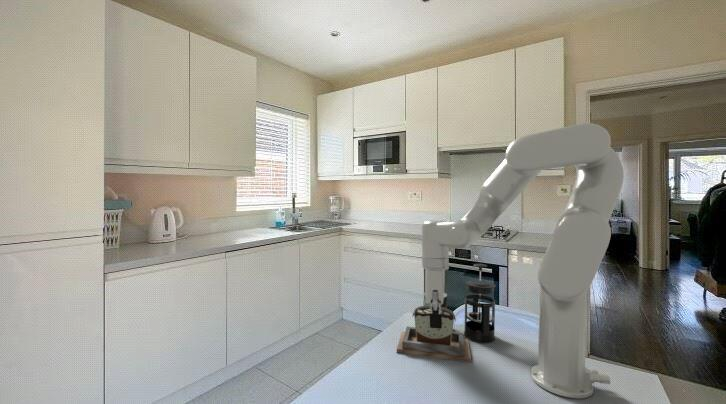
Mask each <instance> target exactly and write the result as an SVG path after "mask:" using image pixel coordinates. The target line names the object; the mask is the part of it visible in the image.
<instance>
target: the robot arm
mask: <svg viewBox="0 0 726 404" xmlns="http://www.w3.org/2000/svg"><path fill="white" fill-rule="evenodd" d="M611 140H612V138H611V135H610V133H609V131H608V130H607V128H604V127H603V126H601V125H599V124H596V123H590V122H584V123H576V124H573V125H568V126H564V127H559V128H555V129H550V130H545V131H540V132H537V133H532V134H527V135H524V136H523V135H522V136H520V137H518V138H516V139H514V140H513V141H511V143H510V144H509V145H508V147H507V148H506V150H505V154H504V155H505V158H504V159H503V161H502V162H501V163H500V164H499V165H498V166H497V167H496V168H495V170H494V171H492V174H491V175H490V176H489V177H488V178H487V179H486V180H485V181H484V182H483V184H482V185H481V188H480V190H479V195H478V197H477V200H476V202H475V203H474V204H473V205H472V207H471V208H470V210H468V212H467V213H466V214H465V215H464V216H463V217H462V218H461V219H458V220H454V221H444V220H438V219H435V220H431V219H430V220H425V221H423V222H422V225H421V249H422V251H421V252H422V254H421V256H422V257H421V259H422V262H421V264H422V265H421V267H422V268H423V270H425V292H426V304H431V309H430V328H439V329H441V328H442V314H441V307H442V304H443V299H444V293H445V283H446V281H445V278H446V277H445V275H446V274H445V272H446V270H449V268H450V267H449V266H450V265H449V264H450V263H449V261H450V260H449V259H450V258H449V255H450V254H449V251H450V250H449V248H452V249H453V248H454V249H464V248H467V247H469V246H470V245H472V244H475V243H477V242H478V241H479V239H481V238H482V236H483V235H485V233H486V232H487V231H488V230H489V229H490V228H491V227H492V225H493V224H494V223H495V222H496V221H497V220H498V218H499V217H500V216H501V215H502V214H503V213H504V212H505V211H507V209H508V208H509V207H510V205H511V204H512V203H513V202H514V201H515V200H516V199H517V198H518V197H519V195H521V193H522V192H523V191H524V190H525V189H526V188H527V187H528V186H529V184H530V183H532V182H533V181H534V180H535V178H536V177H537V176H538V175H539V174H540V173H541V172H542V171H544V170H546V171H547V170H551V169H558V168H565V167H571V166H573V167H574V168H575V170H576V175H577V176H576V181H575V183H574V186H573V189H572V191H571V194H570V197H569V200H568V202H567V203H566V206H565V208H564V211H563V213H562V214H561V216H560V217H559V218H558V219H557V222H556V225H555V228H554V230H553V233H552V236H551V238H550V241H549V243H548V246H547V247H546V251H545V253H544V256H543V258H542V259H541V260H540V261H541V262H540V264H539V267H538V271H537V280H538V283H539V303H538V304H539V305H538V306H539V308H538V309H539V310H538V311H539V312H538V346H537V347H538V349H537V350H538V351H537V353H538V354H537V360H538V361H537V364H536V365H534V366H532V367H531V368H530V377H531V379H532V380H533V381H534V383H536V385H538V386H539V387H541V388H542V389H544V390H546V391H548V392H549V393H553V394H555V395H558V396H561V397H563V398H565V397H566V398H570V399H586V398H589V397H591V396H592V395H593V394H594V385H593V384H595V383H600V384H605V385H610V384H611V378H610V375H609V374H603V373H599V372H598V369H594V368H587V367H586V351H587V350H586V349H587V348H586V347H587V346H586V345H587V319H588V317H587V316H588V313H587V312H588V311H587V310H588V291H589V289H590V287H591V285H592V283H593V281H594V279H595V276H596V275H597V272H598V270H599V268H600V265H601V264H602V261H603V258H604V257H605V254H606V253H607V249H608V248H609V244H610V240H611V236H612V230H611V225H610V223H609V222H610V219H611V217H612V214H613V212H614V209H615V207H616V204H617V202H618V198H619V196H620V193H621V190H622V188H623V184H624V177H625V176H624V173H625V172H624V168H623V164H622V160H621V159H620V157H619V155H618V154H617V153H616V150H614V149H613V148H612V147H611V145H612V141H611ZM430 302H431V303H430ZM438 306H439V307H438Z"/></svg>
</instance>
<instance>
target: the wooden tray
mask: <svg viewBox="0 0 726 404" xmlns="http://www.w3.org/2000/svg"><path fill="white" fill-rule="evenodd" d="M398 352H399V353H400V354H405V353H407V354H408V355H414V356H415V355H416V356H422V357H428V358H429V357H430V358H436V359H442V360H449V361H450V360H451V361H459V362H466V363H467V362H468V363H472V356H471V351H470V345H469V339H467V338H464V332H459V331H452V339H451V346H449V345H441V344H433V343H425V342H417V339H416V328H415V327H414V326H406V328H405V331H401V333H400V337H399V340H398V343H397V345H396V353H398ZM407 354H406V355H407Z"/></svg>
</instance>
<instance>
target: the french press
mask: <svg viewBox="0 0 726 404" xmlns="http://www.w3.org/2000/svg"><path fill="white" fill-rule="evenodd" d="M473 266H474V267H477V268H478V272H479V279H469V280H466V281H465V285H466V290H467V291H468V292H469V293H473V294H468V295H465V297H464V331H463V337H465V339H468V341H469V340H470V341H472V342H475V343H481V344H490V343H493V342H495V340H496V336H495V332H496V331H495V316H496V315H495V311H496V299H495V298H493V297H490V296H487V295H490V294H494V291H495V290H494V289H495V288H496V284H495V283H493V282H491V281H487V280H482V271H483V268H487V267H488V265H487V264H483V263H474V264H473ZM471 299H472V300H471ZM481 300H485V301H488V302H490V303H487V302H486V303H484V302H483V303H482V302H481ZM468 306H471V307H472V311H468ZM490 309H491V310H490ZM490 313H491V314H490Z"/></svg>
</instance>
